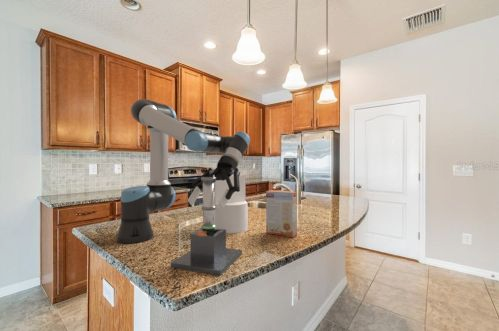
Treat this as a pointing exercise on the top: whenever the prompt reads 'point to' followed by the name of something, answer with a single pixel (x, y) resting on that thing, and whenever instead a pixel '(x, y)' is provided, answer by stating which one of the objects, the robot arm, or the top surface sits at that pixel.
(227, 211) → the cylinder
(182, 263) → the square socket stand
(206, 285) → the top surface
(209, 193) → the silver mushroom-headed rod
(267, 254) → the top surface
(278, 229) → the cracker box
